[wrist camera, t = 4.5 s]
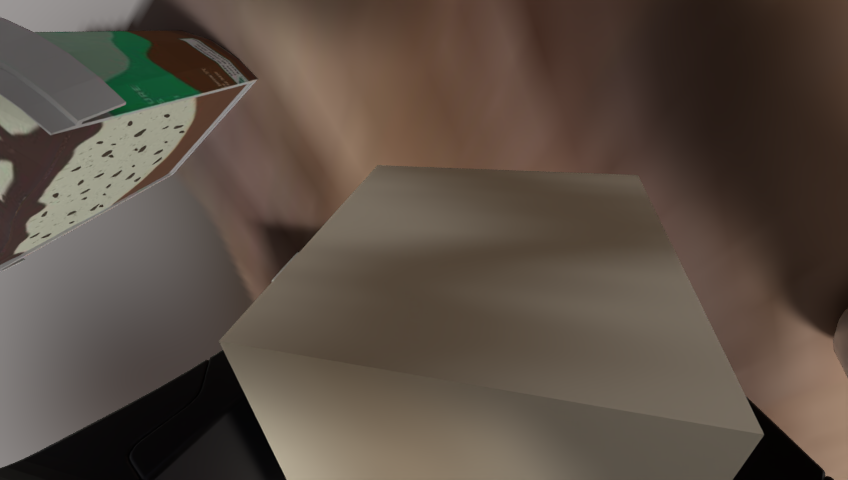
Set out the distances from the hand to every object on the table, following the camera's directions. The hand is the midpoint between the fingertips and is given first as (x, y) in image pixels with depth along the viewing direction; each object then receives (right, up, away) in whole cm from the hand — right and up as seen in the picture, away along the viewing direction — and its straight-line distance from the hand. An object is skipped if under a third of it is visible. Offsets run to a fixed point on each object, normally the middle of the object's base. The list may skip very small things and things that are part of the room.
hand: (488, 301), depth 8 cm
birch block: (0, +1, +1) cm, 1 cm away
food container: (-15, +9, +12) cm, 21 cm away
